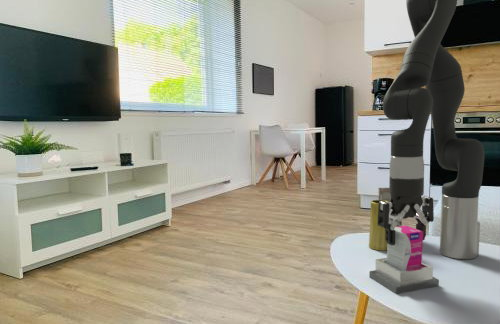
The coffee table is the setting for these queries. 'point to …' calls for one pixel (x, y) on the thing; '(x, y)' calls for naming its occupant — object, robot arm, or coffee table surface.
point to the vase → (376, 229)
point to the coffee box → (386, 198)
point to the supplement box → (406, 249)
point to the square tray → (403, 277)
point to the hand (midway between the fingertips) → (405, 241)
